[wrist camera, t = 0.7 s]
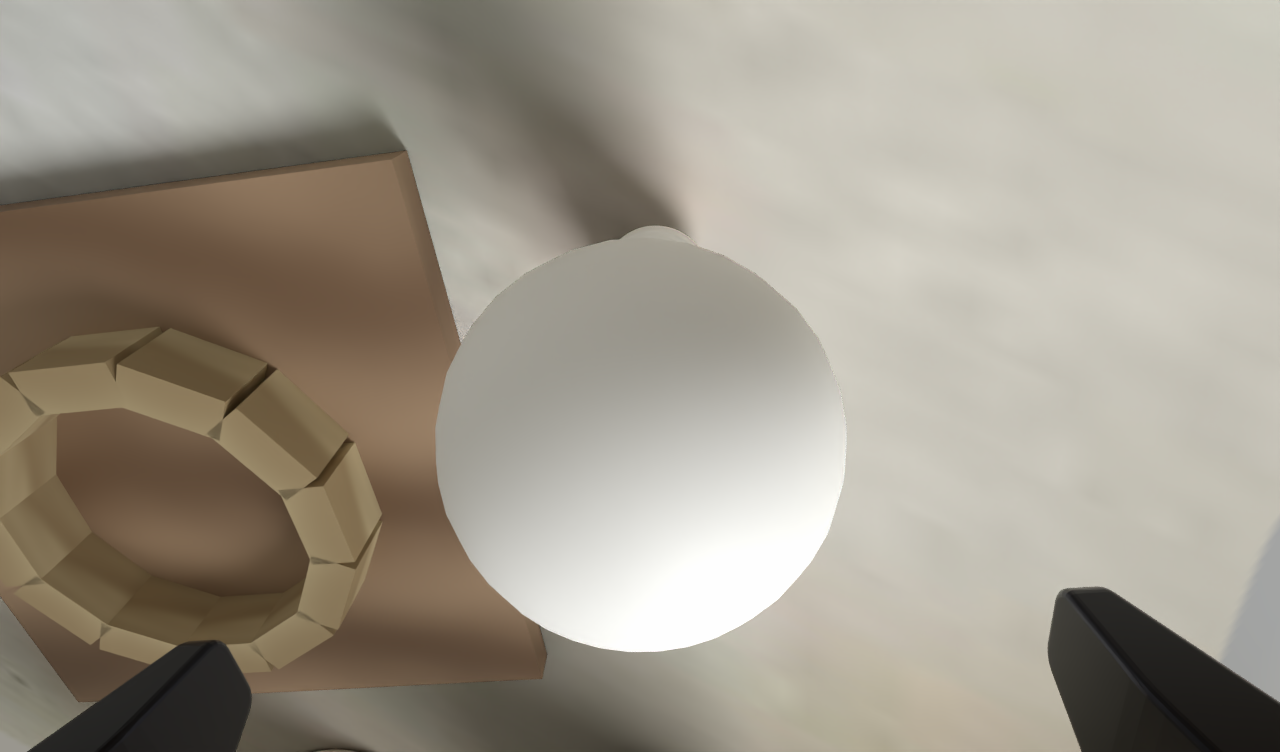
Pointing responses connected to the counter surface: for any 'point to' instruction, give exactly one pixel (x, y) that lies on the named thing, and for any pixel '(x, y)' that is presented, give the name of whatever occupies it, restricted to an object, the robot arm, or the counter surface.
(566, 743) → the counter surface
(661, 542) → the lightbulb
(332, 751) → the beer glass
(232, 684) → the robot arm
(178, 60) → the counter surface
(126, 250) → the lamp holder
